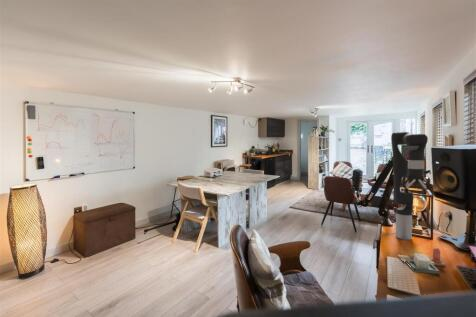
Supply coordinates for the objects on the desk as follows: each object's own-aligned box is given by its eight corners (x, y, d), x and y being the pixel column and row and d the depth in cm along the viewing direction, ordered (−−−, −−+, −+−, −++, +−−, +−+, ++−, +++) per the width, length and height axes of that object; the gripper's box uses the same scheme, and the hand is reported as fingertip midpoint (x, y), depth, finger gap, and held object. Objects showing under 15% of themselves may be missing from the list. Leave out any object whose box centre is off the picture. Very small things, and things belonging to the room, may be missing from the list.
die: (413, 260, 127) (414, 253, 126) (424, 261, 126) (425, 254, 124) (417, 267, 123) (418, 259, 121) (428, 268, 121) (430, 261, 119)
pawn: (430, 258, 131) (430, 246, 130) (438, 259, 130) (438, 246, 129) (434, 262, 127) (434, 249, 126) (442, 262, 126) (443, 249, 125)
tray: (406, 263, 129) (406, 259, 128) (429, 265, 126) (429, 261, 126) (414, 271, 120) (414, 268, 120) (439, 274, 117) (439, 270, 117)
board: (397, 256, 136) (397, 254, 136) (437, 259, 131) (437, 258, 131) (402, 262, 129) (403, 260, 129) (445, 266, 124) (445, 264, 124)
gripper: (426, 167, 138) (425, 193, 139) (399, 167, 142) (398, 192, 143) (433, 168, 131) (432, 196, 132) (404, 168, 135) (404, 195, 136)
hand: (415, 194), depth 137 cm, fingers open, 8 cm apart
